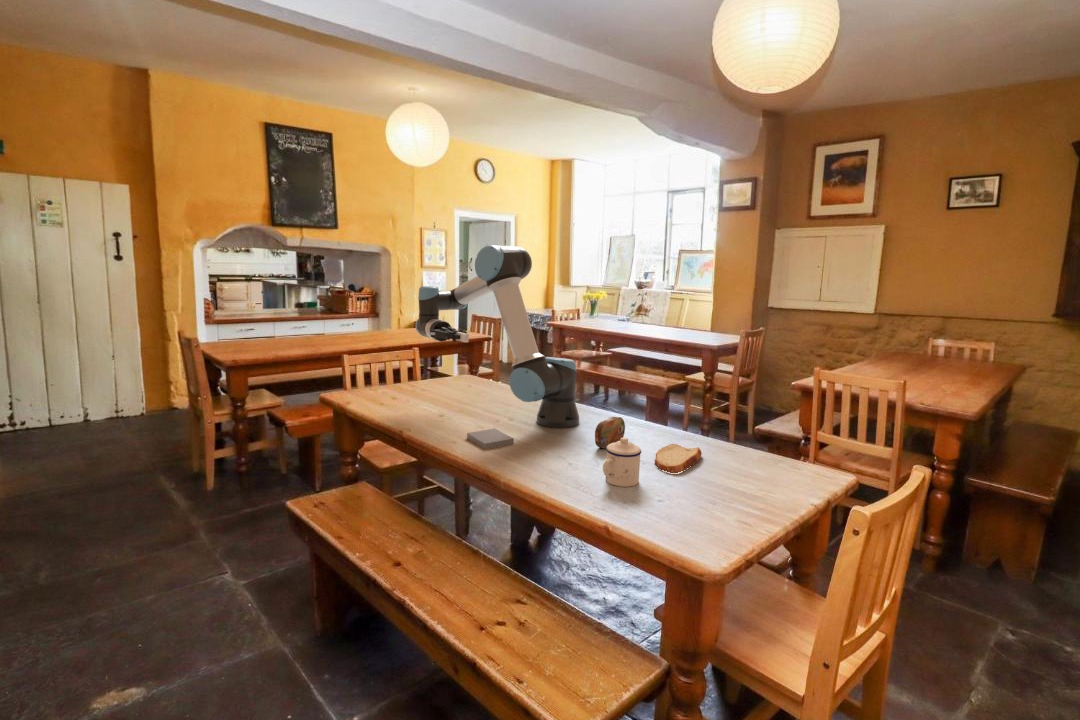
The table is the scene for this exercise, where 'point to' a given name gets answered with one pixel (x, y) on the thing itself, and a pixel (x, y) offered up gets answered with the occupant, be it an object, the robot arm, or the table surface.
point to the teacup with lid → (622, 463)
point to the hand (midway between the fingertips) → (466, 338)
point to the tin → (609, 431)
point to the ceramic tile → (490, 438)
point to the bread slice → (676, 458)
